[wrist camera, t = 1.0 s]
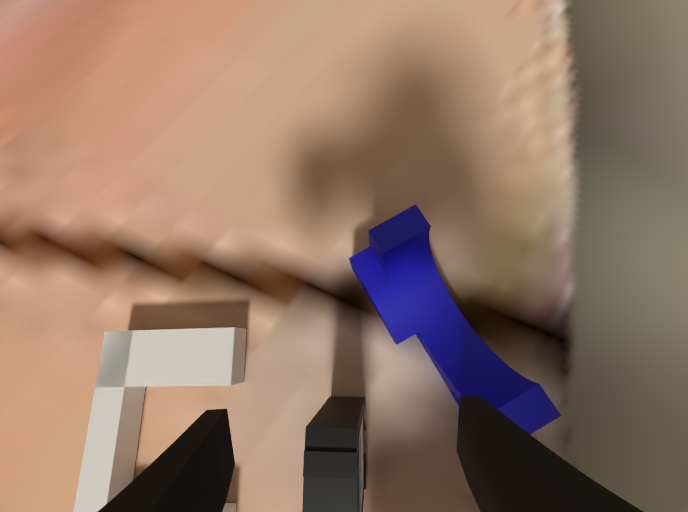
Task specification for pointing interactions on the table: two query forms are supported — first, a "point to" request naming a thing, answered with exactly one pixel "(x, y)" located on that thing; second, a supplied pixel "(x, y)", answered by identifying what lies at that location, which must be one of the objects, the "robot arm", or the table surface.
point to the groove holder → (129, 390)
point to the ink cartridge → (335, 457)
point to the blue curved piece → (440, 321)
